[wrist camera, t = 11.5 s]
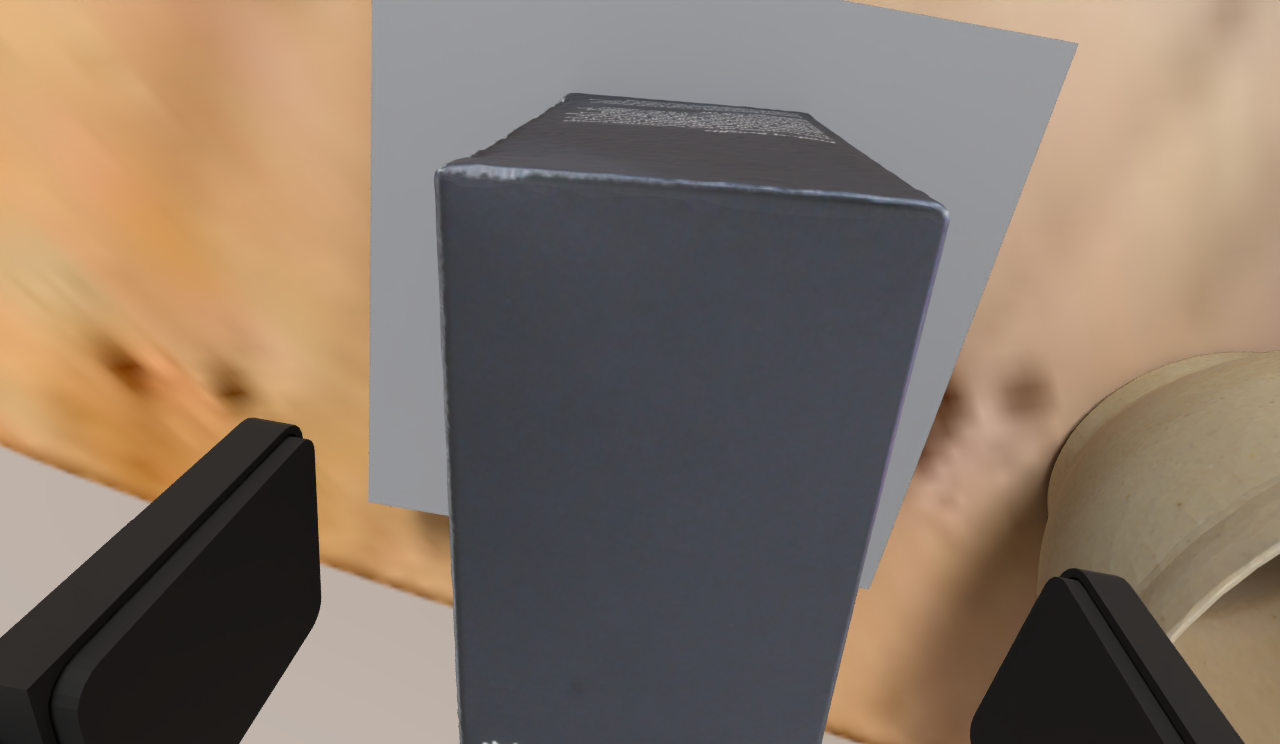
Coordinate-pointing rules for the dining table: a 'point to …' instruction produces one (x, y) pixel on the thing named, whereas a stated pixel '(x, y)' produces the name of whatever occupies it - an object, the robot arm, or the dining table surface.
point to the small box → (668, 415)
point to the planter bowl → (1187, 519)
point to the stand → (700, 73)
